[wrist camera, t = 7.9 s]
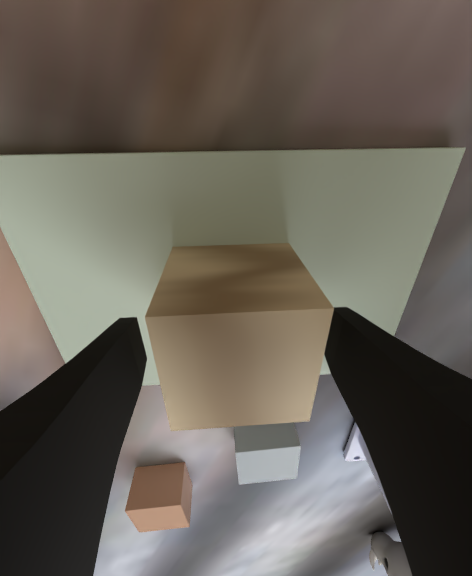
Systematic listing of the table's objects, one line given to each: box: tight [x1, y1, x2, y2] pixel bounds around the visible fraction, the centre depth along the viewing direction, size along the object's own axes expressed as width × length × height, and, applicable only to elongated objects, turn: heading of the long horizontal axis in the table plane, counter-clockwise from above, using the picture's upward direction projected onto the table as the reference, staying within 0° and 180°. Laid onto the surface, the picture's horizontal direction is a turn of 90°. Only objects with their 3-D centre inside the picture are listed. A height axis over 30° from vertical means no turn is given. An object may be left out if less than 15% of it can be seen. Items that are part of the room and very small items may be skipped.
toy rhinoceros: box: [369, 532, 412, 576], centre depth 28 cm, size 7×12×8 cm, turn 118°
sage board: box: [0, 147, 466, 386], centre depth 13 cm, size 18×12×1 cm, turn 91°
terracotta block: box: [125, 462, 192, 532], centre depth 21 cm, size 4×4×3 cm
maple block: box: [145, 243, 334, 431], centre depth 10 cm, size 5×5×5 cm
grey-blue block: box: [234, 422, 301, 485], centre depth 18 cm, size 4×4×3 cm
